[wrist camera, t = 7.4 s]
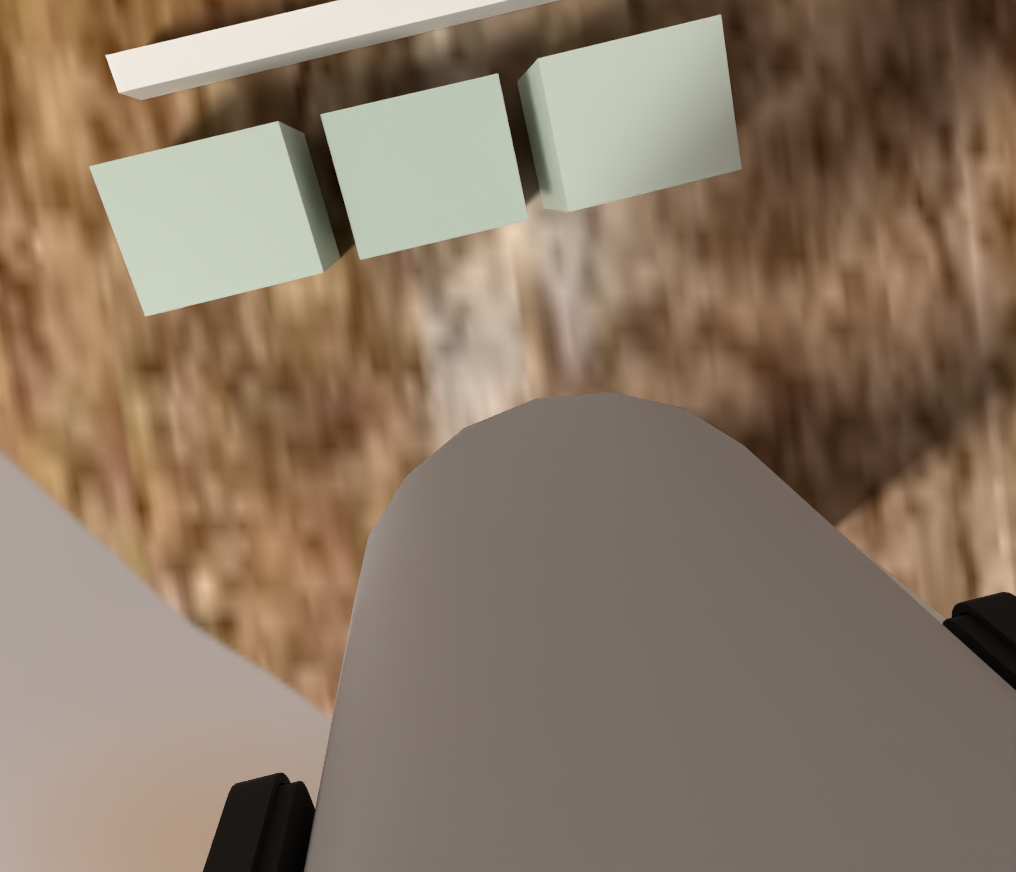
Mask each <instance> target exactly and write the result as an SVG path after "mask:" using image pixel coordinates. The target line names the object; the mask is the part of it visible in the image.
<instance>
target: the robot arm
mask: <svg viewBox="0 0 1016 872" xmlns="http://www.w3.org/2000/svg"><path fill="white" fill-rule="evenodd" d="M942 625H943V626H945V627H946V628H947V629H948V630H949V631H950V632H951V633H952V634H953V635H955V636H956V637H957V638H958V639H959V640H960V641H961V642H962V643H963V644H965V645H966V646H967V647H968V648H969V649H970V650H971V651H972V652H973V653H974V654H976V655H977V656H978V657H979V658H980V659H981V660H982V661H983V662H984V663H986V664H987V665H988V666H989V667H990V668H991V669H992V670H993V671H994V672H996V673H997V674H998V675H999V676H1000V677H1001V678H1002V679H1003V680H1004V681H1006V682H1007V683H1008V684H1009V685H1010V686H1011V687H1012V688H1013V689H1014V690H1016V596H1014V595H1012V594H1011V593H1007V592H1001V593H997V594H993V595H989V596H985V597H981V598H977V599H973V600H969V601H965V602H961V603H958V604H957V605H955V606H954V608H953V611H952V618H949V619H946V620H945V621H943V623H942ZM314 814H315V808H314V805H313V803H312V800H311V798H310V795H309V793H308V790H307V788H306V786H305V784H304V783H303V782H302V781H297V782H294V783H290V781H289V779H288V777H287V776H286V775H285V774H284V773H276V774H272V775H268V776H264V777H260V778H256V779H252V780H248V781H244V782H240V783H236V784H235V785H234V786H232V788H231V790H230V792H229V794H228V797H227V800H226V803H225V806H224V809H223V812H222V815H221V818H220V822H219V824H218V828H217V830H216V833H215V836H214V839H213V842H212V845H211V849H210V852H209V855H208V858H207V861H206V864H205V867H204V870H203V872H304V868H305V862H306V857H307V852H308V846H309V841H310V836H311V830H312V825H313V820H314Z"/></svg>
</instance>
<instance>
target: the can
mask: <svg viewBox="0 0 1016 872" xmlns="http://www.w3.org/2000/svg"><path fill="white" fill-rule="evenodd" d="M304 872H1016V690H1014V689H1013V688H1012V687H1011V686H1010V685H1009V684H1008V683H1007V682H1006V681H1004V680H1003V679H1002V678H1001V677H1000V676H999V675H998V674H997V673H996V672H994V671H993V670H992V669H991V668H990V667H989V666H988V665H987V664H986V663H984V662H983V661H982V660H981V659H980V658H979V657H978V656H977V655H976V654H974V653H973V652H972V651H971V650H970V649H969V648H968V647H967V646H966V645H965V644H963V643H962V642H961V641H960V640H959V639H958V638H957V637H956V636H955V635H953V634H952V633H951V632H950V631H949V630H948V629H947V628H946V627H945V626H943V625H942V624H941V623H940V622H939V621H938V620H937V619H936V618H935V617H933V616H932V615H931V614H930V613H929V612H928V611H927V610H926V609H925V608H923V607H922V606H921V605H920V604H919V603H918V602H917V601H916V600H915V599H913V598H912V597H911V596H910V595H909V594H908V593H907V592H906V591H905V590H904V589H902V588H901V587H900V586H899V585H898V584H897V583H896V582H895V581H894V580H892V579H891V578H890V577H889V576H888V575H887V574H886V573H885V572H884V571H882V570H881V569H880V568H879V567H878V566H877V565H876V564H875V563H874V562H872V561H871V560H870V559H869V558H868V557H867V556H866V555H865V554H864V553H862V552H861V551H860V550H859V549H858V548H857V547H856V546H855V545H854V544H853V543H851V542H850V541H849V540H848V539H847V538H846V537H845V536H844V535H843V534H841V533H840V532H839V531H838V530H837V529H836V528H835V527H834V526H833V525H831V524H830V523H829V522H828V521H827V520H826V519H825V518H824V517H823V516H821V515H820V514H819V513H818V512H817V511H816V510H815V509H814V508H813V507H811V506H810V505H809V504H808V503H807V502H806V501H805V500H804V499H803V498H801V497H800V496H799V495H798V494H797V493H796V492H795V491H794V490H793V489H792V488H790V487H789V486H788V485H787V484H786V483H785V482H784V481H783V480H782V479H780V478H779V477H778V476H777V475H776V474H775V473H774V472H773V471H772V470H770V469H769V468H768V467H767V466H766V465H765V464H764V463H763V462H762V461H760V460H759V459H758V458H757V457H756V456H755V455H754V454H753V453H752V452H750V451H749V450H748V449H747V448H746V447H745V446H744V445H742V444H741V443H739V442H738V441H736V440H734V439H733V438H731V437H729V436H728V435H726V434H725V433H723V432H721V431H720V430H718V429H717V428H715V427H713V426H712V425H710V424H709V423H707V422H705V421H704V420H702V419H700V418H699V417H697V416H696V415H694V414H692V413H691V412H689V411H688V410H686V409H684V408H680V407H675V406H671V405H667V404H662V403H658V402H653V401H649V400H645V399H640V398H636V397H632V396H627V395H623V394H618V393H614V392H609V393H597V394H586V395H574V396H563V397H551V398H540V399H534V400H532V401H529V402H527V403H525V404H522V405H520V406H517V407H515V408H512V409H510V410H507V411H505V412H502V413H500V414H498V415H495V416H493V417H490V418H488V419H485V420H483V421H480V422H478V423H476V424H473V425H471V426H468V427H466V428H464V429H463V430H461V431H460V432H459V433H458V434H457V435H455V436H454V437H453V438H452V439H451V440H449V441H448V442H447V443H446V444H444V445H443V446H442V447H441V448H440V449H438V450H437V451H436V452H435V453H434V454H432V455H431V456H430V457H429V458H428V459H426V460H425V461H424V462H423V463H422V464H420V465H419V466H418V467H417V468H416V469H414V470H413V471H412V472H411V473H410V474H408V475H407V476H406V477H405V479H404V481H403V482H402V484H401V485H400V487H399V489H398V490H397V492H396V493H395V495H394V497H393V498H392V500H391V501H390V503H389V505H388V506H387V508H386V509H385V511H384V513H383V514H382V516H381V517H380V519H379V521H378V522H377V524H376V525H375V527H374V529H373V530H372V532H371V533H370V535H369V537H368V542H367V546H366V551H365V555H364V560H363V564H362V569H361V573H360V578H359V583H358V587H357V592H356V596H355V601H354V606H353V611H352V617H351V622H350V627H349V633H348V638H347V643H346V649H345V654H344V659H343V665H342V670H341V675H340V681H339V686H338V691H337V697H336V702H335V707H334V713H333V718H332V723H331V729H330V734H329V740H328V745H327V750H326V756H325V761H324V767H323V772H322V777H321V782H320V788H319V793H318V798H317V804H316V809H315V814H314V820H313V825H312V830H311V836H310V841H309V846H308V852H307V857H306V862H305V868H304Z"/></svg>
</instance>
